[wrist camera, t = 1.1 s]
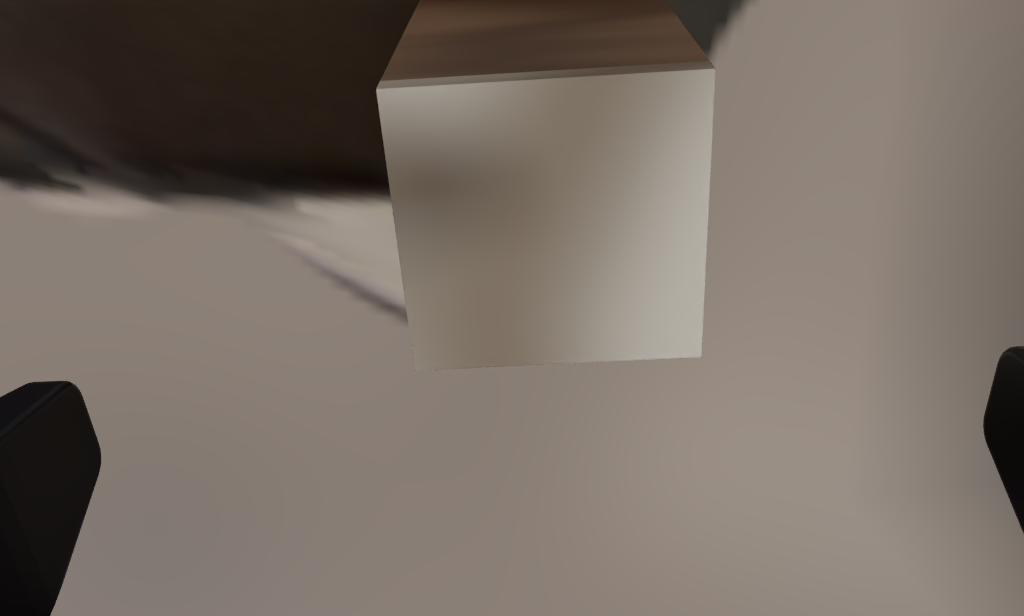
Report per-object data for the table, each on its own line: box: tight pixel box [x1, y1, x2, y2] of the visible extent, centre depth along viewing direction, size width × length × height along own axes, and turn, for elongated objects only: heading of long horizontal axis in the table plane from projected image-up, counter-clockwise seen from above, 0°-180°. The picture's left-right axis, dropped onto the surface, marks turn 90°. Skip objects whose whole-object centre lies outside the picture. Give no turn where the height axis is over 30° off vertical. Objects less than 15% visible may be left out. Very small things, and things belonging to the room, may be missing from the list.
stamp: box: [376, 0, 715, 371], centre depth 16 cm, size 4×4×7 cm
